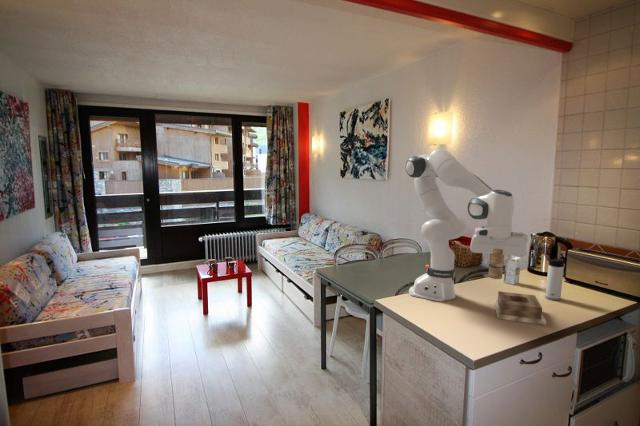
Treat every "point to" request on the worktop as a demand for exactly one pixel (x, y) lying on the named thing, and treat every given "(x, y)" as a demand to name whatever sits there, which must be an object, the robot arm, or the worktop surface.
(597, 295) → the worktop surface
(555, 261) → the travel mug
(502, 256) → the oak peg
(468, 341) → the worktop surface
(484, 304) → the worktop surface
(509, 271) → the syrup box
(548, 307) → the worktop surface
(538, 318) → the socket board
